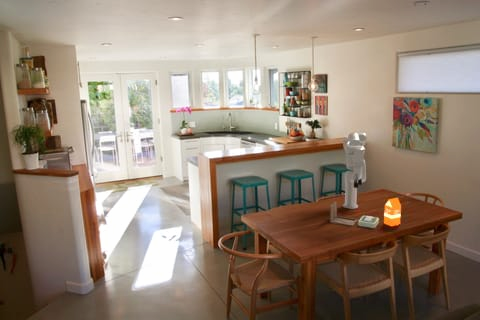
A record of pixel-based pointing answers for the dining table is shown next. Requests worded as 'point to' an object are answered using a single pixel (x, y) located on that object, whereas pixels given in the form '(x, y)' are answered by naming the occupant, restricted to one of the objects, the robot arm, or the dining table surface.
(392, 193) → the dining table surface
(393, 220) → the orange juice
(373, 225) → the sage bin
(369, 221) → the stone cube
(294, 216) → the dining table surface
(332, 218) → the brown hollow box
